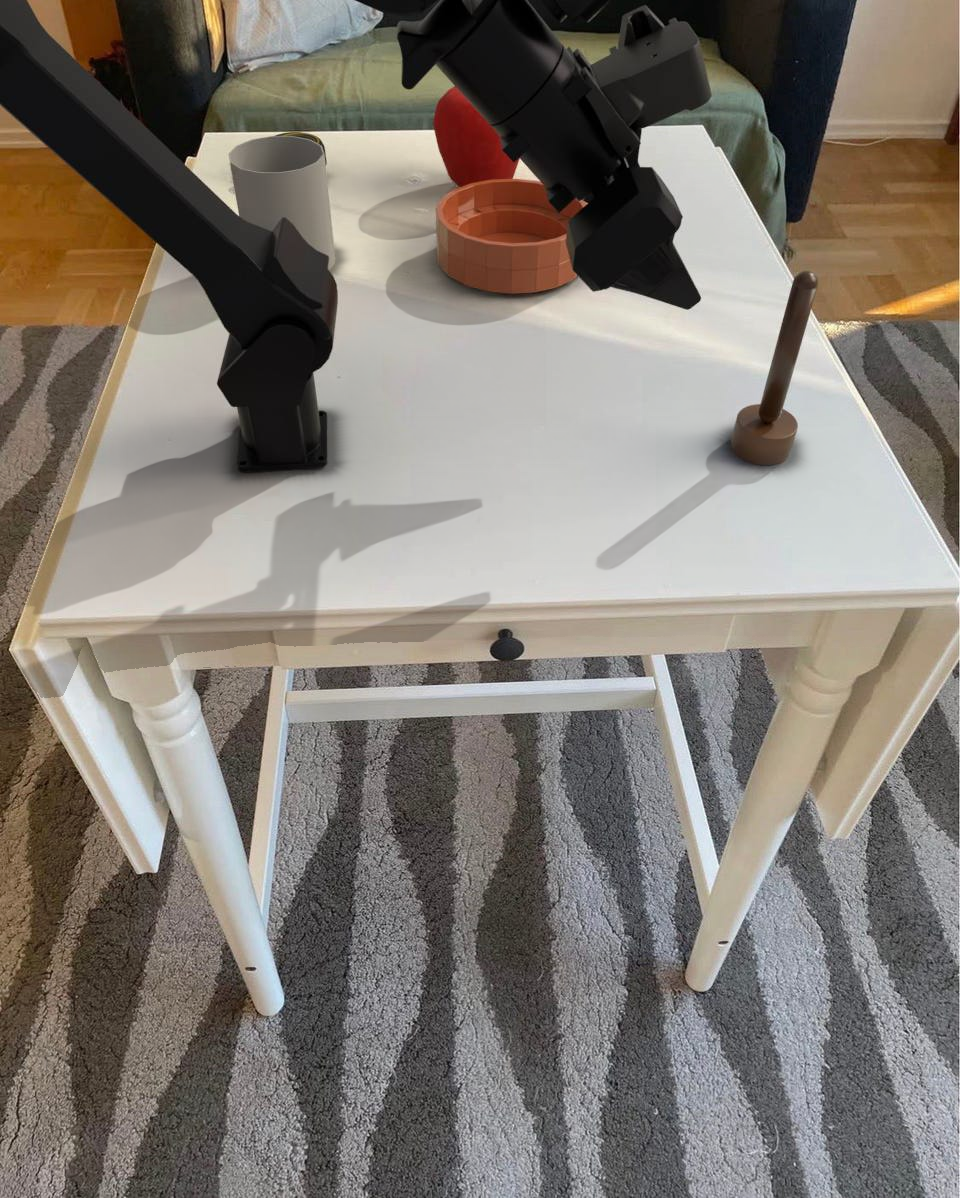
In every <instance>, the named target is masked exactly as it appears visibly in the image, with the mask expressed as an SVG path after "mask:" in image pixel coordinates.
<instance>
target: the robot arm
mask: <svg viewBox="0 0 960 1198" xmlns="http://www.w3.org/2000/svg"><path fill="white" fill-rule="evenodd" d="M354 1H355V2H358V3H360V4H362V5H363V6H364V5H365V7H369V8H371V9H374V10H376V11H379V12H381V13H383V14H385V15H389V16H392V17H411V16H416V15H420V14H422V13H423V12H424V11H425V10H427V9H428V8H429V7H431V6H432V5H433V4H435V3H436V2H437V1H438V0H354ZM540 1H541V2H542V4H543V5H544V6H545V7H546V9H547V10H548V11H549V12H550V13H551V15H552V16H553V17H554V18H555V19H556V20H557V21H558V22H559V23H562V22H563V21H564V20H565V19H566V18H568V19H569V20H570V21H571V23H573V24H575V23H576V22H577V21H578V20H579V19H580V18H581V17H582V19H583V20H584V21H586V22H587V23H590V22H591V21H592V20H593V19H594V18H595V17H596V16H597V15H598V14H599V13H600V12H601V11H602V10H603V9H604V8H605V7H606V6H607V5H608V4H609V3H610V2H611V1H612V0H540ZM653 12H654V11H652V10H651V9H650V8H649V7H648V6H647V5H646V4H645V5H642V6H639V7H637V8H634V9H633V10H631V11H628V12H626V13H625V14H623V15H622V17H621V24H620V30H619V35H618V36H619V37H618V42H617V46H616V45H614V46H612V47H610V48H609V49H608V50H609V53H610V54H608V55H606V56H605V57H603V58H601V59H598V60H597V61H595V62H593V63H590V61H589V60H588V59H587V58H586V56H585V55H584V54H583V52H582V51H581V50H580V49H579V48H576V49H575V50H573V49H572V47H570V46H568V47H565V46H564V44H563V43H562V42H561V41H560V40H559V38H558V37H557V36H556V34H554V32H553V31H552V29H551V28H550V27H549V25H548V24H547V23H546V22H545V21H544V19H543V18H542V17H541V15H540V14H539V13H538V12H537V10H536V9H535V8H534V7H533V5H532V4H531V3H530V2H529V0H439V1H438V2H437V4H436V5H435V6H434V7H433V8H432V9H431V10H430V12H428V13H427V15H425V17H424V18H423V19H421V20H417V21H406V20H400V21H398V23H397V26H396V40H397V43H398V46H399V49H400V55H401V86H402V87H403V88H404V89H405V90H408V91H410V90H413V89H414V88H415V87H416V86H417V85H418V84H419V83H420V82H421V81H422V80H423V78H424V77H425V76H426V75H427V74H428V73H429V72H430V71H431V70H432V69H433V68H434V67H435V66H436V67H437V69H439V70H440V71H441V72H442V73H443V75H444V76H445V77H446V78H447V79H448V80H449V81H450V83H452V84H453V87H454V86H455V87H456V88H457V89H458V90H459V91H460V92H461V93H462V94H463V96H464V97H465V98H466V99H467V100H468V101H469V102H470V103H471V105H472V106H473V107H474V108H475V109H476V110H477V111H478V112H479V113H480V115H481V116H482V117H483V118H484V119H485V120H486V121H487V122H488V123H489V125H490V126H491V127H492V128H493V129H494V130H495V131H496V132H497V134H498V135H499V136H500V141H501V146H502V150H503V152H504V153H505V154H506V155H507V156H508V157H509V158H510V159H511V160H512V161H513V163H514V162H515V161H516V160H517V159H519V158H520V159H519V160H520V161H522V163H523V164H524V165H525V166H526V167H527V168H528V169H529V171H530V172H531V173H532V174H533V175H534V176H535V178H536V179H537V180H538V181H540V182H541V183H542V184H543V185H544V186H545V187H546V188H547V189H546V188H545V190H546V194H547V198H548V201H549V202H550V204H551V205H552V206H553V207H554V208H555V209H556V210H557V211H558V212H559V213H560V212H561V211H562V210H563V209H564V208H565V207H566V206H567V205H569V204H570V203H571V202H572V201H573V200H574V199H575V198H576V199H577V200H578V201H582V200H583V201H585V202H586V203H587V205H585V206H584V207H583V208H582V209H581V210H580V211H579V212H578V213H576V214H575V215H574V216H573V217H572V218H571V219H570V220H569V221H568V225H567V234H566V246H567V250H568V254H569V258H570V261H571V265H572V269H573V271H574V272H575V273H576V274H577V275H578V276H577V277H578V278H579V279H580V280H581V281H582V282H583V283H584V284H585V286H587V287H588V288H589V289H590V290H591V291H592V293H594V292H600V291H601V292H602V291H603V290H608V289H610V288H613V289H617V290H620V291H625V292H629V293H633V294H637V295H640V296H643V297H646V298H649V299H653V300H655V301H658V302H662V303H665V304H666V305H667V304H668V305H670V306H674V307H677V308H680V309H682V310H687V311H689V310H690V309H692V308H693V307H695V306H696V305H697V304H699V303H700V302H701V301H702V297H701V294H700V292H699V289H698V288H697V286H696V284H695V282H694V280H693V278H692V277H691V274H690V272H689V270H688V269H687V266H686V265H685V263H684V261H683V259H682V257H681V255H680V253H679V252H678V249H677V248H676V245H675V244H674V240H675V235H676V233H677V232H678V231H679V229H680V228H681V225H682V220H683V217H684V216H683V214H682V211H681V209H680V207H679V205H678V203H677V201H676V199H675V197H674V195H673V194H672V192H671V190H670V189H669V188H668V186H667V184H666V183H665V181H663V179H662V178H661V176H660V175H659V174H658V173H657V171H656V170H655V169H654V168H653V167H652V166H641V165H640V163H639V156H640V148H641V144H642V142H641V140H642V132H643V129H646V128H648V127H650V126H653V125H655V124H657V123H659V122H661V121H664V120H665V119H669V118H671V117H673V116H675V115H677V114H679V113H682V112H684V111H690V112H692V111H695V110H697V109H699V108H701V107H703V106H704V105H706V104H707V103H708V102H709V101H710V100H711V98H712V95H713V94H712V89H711V85H710V81H709V78H708V77H709V76H708V73H707V68H706V63H705V58H704V55H703V51H702V47H701V43H700V42H701V41H700V39H699V37H698V35H697V34H696V33H695V31H694V29H693V28H692V27H691V26H690V23H688V22H687V21H683V20H682V21H678V20H677V18H676V17H673V18H671V19H669V20H668V25H664V23H663V22H662V21H661V20H660V19H659V17H658V16H657V15H656V14H655V13H653ZM0 107H1V108H3V109H4V110H5V111H6V112H7V113H8V114H9V115H11V116H12V117H13V118H14V119H15V120H16V121H17V122H19V123H20V124H21V125H22V126H23V127H24V128H25V129H26V130H28V132H30V133H31V134H32V135H33V136H34V137H35V138H37V140H39V141H40V142H41V143H42V144H43V145H44V146H46V147H47V148H48V149H49V150H50V151H51V152H53V153H54V155H56V156H57V157H58V158H59V159H61V160H62V162H64V163H65V164H66V165H67V166H69V168H71V169H72V170H73V171H74V173H77V174H78V175H79V176H80V177H81V178H82V179H83V180H84V181H85V182H87V184H89V185H90V186H91V187H92V188H93V189H94V190H96V191H97V192H98V193H99V194H100V195H101V196H102V197H104V198H105V199H106V200H107V201H108V202H109V203H110V204H111V205H113V206H114V207H115V208H116V209H117V210H119V212H121V213H122V214H123V215H124V216H125V217H126V218H127V219H128V220H130V221H131V222H132V223H133V224H134V225H136V227H137V228H139V229H140V230H141V231H142V232H143V233H144V234H146V235H147V236H148V237H149V238H150V239H151V240H152V241H153V242H155V243H156V244H157V245H158V246H159V247H161V249H163V250H164V251H165V252H166V253H167V254H168V255H169V256H170V257H171V258H173V259H174V260H175V261H177V263H178V264H179V265H181V266H182V267H183V268H184V269H185V270H186V271H187V272H189V273H190V274H191V275H192V276H193V277H194V278H195V279H196V281H198V283H199V284H200V287H201V288H202V289H203V292H204V293H205V295H206V297H207V298H208V301H209V302H210V304H211V306H212V308H213V309H214V311H215V313H216V315H217V318H218V319H219V321H220V323H221V325H222V327H223V328H224V329H225V331H226V332H227V333H228V338H227V341H226V346H225V349H224V354H223V357H222V361H221V365H220V369H219V373H218V377H217V380H216V386H217V387H218V389H219V390H220V392H221V393H222V396H224V398H225V400H226V401H227V403H228V404H229V406H231V407H232V408H236V410H237V415H238V422H239V433H238V444H237V453H236V454H237V455H236V463H235V464H236V467H237V470H238V471H239V472H241V473H248V472H263V471H265V472H266V471H279V470H294V469H295V470H296V469H309V468H311V469H312V468H324V467H325V466H327V465H328V464H329V441H328V438H329V437H328V434H329V433H328V431H329V430H328V429H329V428H328V427H329V425H328V413H327V411H325V410H320V409H319V404H318V398H317V390H316V381H315V375H314V374H315V372H316V371H318V370H320V369H321V368H322V367H324V365H325V364H326V363H327V362H328V360H329V359H330V357H331V354H332V351H333V348H334V340H335V332H336V322H337V312H338V303H339V300H338V299H339V295H338V294H339V293H338V291H339V290H338V284H337V281H336V279H335V276H333V274H332V272H331V270H330V271H329V270H328V263H329V256H328V255H326V254H323V253H321V252H319V251H317V250H316V249H314V248H313V247H312V246H311V245H309V244H308V243H307V242H306V241H305V239H304V238H303V237H302V236H301V234H300V233H299V232H298V230H297V229H296V228H295V226H294V225H293V224H292V223H291V222H290V221H289V220H288V219H287V218H285V217H283V218H281V220H280V221H279V222H278V224H277V225H276V227H275V228H274V229H273V231H270V230H267V229H265V228H262V227H260V226H257V225H254V224H252V223H249V222H247V221H245V220H244V219H242V218H241V217H239V214H237V213H236V212H235V211H234V210H233V209H232V208H231V207H230V206H229V205H227V203H225V201H223V199H221V198H220V197H219V195H217V193H215V191H213V190H212V189H211V188H210V187H209V186H208V185H207V184H206V183H205V182H204V181H203V180H202V179H201V178H200V177H198V176H197V175H196V173H194V172H193V171H192V170H191V169H190V168H189V167H188V166H187V165H186V163H184V162H183V161H182V160H181V159H180V158H179V157H178V156H176V155H175V153H173V151H172V150H170V148H168V147H167V146H166V145H165V144H164V143H163V142H162V141H161V140H160V139H159V138H158V137H157V136H156V135H155V134H154V133H153V132H151V131H150V129H148V128H147V127H146V126H145V125H144V124H143V123H142V122H141V121H140V120H139V119H138V118H137V117H136V116H135V115H134V114H133V113H132V112H131V111H130V110H128V109H127V108H126V106H124V105H123V104H122V103H121V101H119V100H118V99H117V98H116V97H115V96H114V95H113V94H112V93H111V91H109V90H108V89H107V88H106V87H105V86H103V84H102V83H100V82H99V81H98V79H96V78H95V77H94V76H93V75H92V74H91V73H90V72H89V71H88V70H87V69H86V68H85V67H84V66H83V65H81V63H80V62H79V61H77V59H76V58H74V57H73V56H72V55H71V54H70V53H69V52H68V51H67V50H66V49H65V48H64V47H62V45H61V44H60V43H59V42H57V40H56V39H55V38H53V37H52V36H51V35H50V34H49V33H48V31H47V30H46V29H45V28H44V26H43V25H42V24H41V22H40V21H39V19H38V18H37V16H36V14H35V12H34V10H33V8H32V6H31V5H30V3H29V1H28V0H0Z"/></svg>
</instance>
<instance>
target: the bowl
mask: <svg viewBox="0 0 960 1198" xmlns="http://www.w3.org/2000/svg"><path fill="white" fill-rule="evenodd" d="M545 188H546V187H545V186H544V185H543V184H542V183H541V182H540V180H532V179H522V178H513V179H495V180H487V181H481V182H475V183H470V184H468V185H465V186H462V187H457V188H454V189H452V190H450V191H449V192H448V193H446V195H443V196H442V197H441V199H440V200H439V202H438V204H437V206H436V207H435V225H436V226H435V228H436V256H437V257H436V258H437V263H438V266H439V267H440V269H442V270H443V271H444V273H445V274H446V275H447V276H449V277H450V278H451V279H453V280H455V281H457V282H459V283H461V284H462V285H464V286H468V287H470V288H475V289H479V290H480V291H481V290H482V291H485V292H492V293H501V294H531V293H538V292H543V291H548V290H552V289H555V288H559V287H561V286H563V285H565V284H567V283H569V282H572V281H574V280H575V279H576V278H577V277H579V276H578V275H577V274H576V273H575V272H574V271H573V269H572V265H571V261H570V258H569V254H568V250H567V246H566V234H567V225H568V221H569V220H570V219H571V218H572V217H573V216H574V215H575V214H576V213H578V212H579V211H580V210H581V209H582V208H583V207H584V206H585V205H587V204H588V203H586V202H585V201H583V200H582V201H578V200H577V199H576V198H575V199H574V200H573V201H572V202H571V203H570V204H569V205H567V206H566V207H565V208H564V209H563V210H562V211H561V212H560V213H559V212H558V211H557V210H556V209H555V208H554V207H553V206H552V205H551V204H550V202H549V201H548V198H547V194H546V190H545ZM546 189H547V188H546Z"/></svg>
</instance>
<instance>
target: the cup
mask: <svg viewBox="0 0 960 1198" xmlns="http://www.w3.org/2000/svg"><path fill="white" fill-rule="evenodd" d="M227 155H228V160H229V165H230V171H231V177H232V183H233V189H234V194H235V200H236V207H237V212H238V216H239V217H241V218H242V219H244V220H245V221H247V222H249V223H252V224H254V225H257V226H260V227H262V228H265V229H267V230H270V231H273V229H274V228H275V227H276V225H277V224H278V222H279V221H280V220H281V218H283V217H285V218H287V219H288V220H289V221H290V222H291V223H292V224H293V225H294V226H295V228H296V229H297V230H298V232H299V233H300V234H301V236H302V237H303V238H304V239H305V241H306V242H307V243H308V244H309V245H311V246H312V247H313V248H314V249H316V250H317V251H319V252H321V253H323V254H326V255H328V256H329V263H328V270H329V271H330V272H331V270H332V268H333V266H334V265H335V263H336V251H335V250H336V249H335V242H334V233H333V223H332V221H333V220H332V213H331V212H332V211H331V204H330V202H331V201H330V194H329V185H328V184H329V183H328V175H327V174H328V173H327V165H326V163H325V154H324V151H323V148H322V146H321V145H319V144H317V143H316V142H314V141H312V140H310V139H305V138H300V137H294V136H275V135H270V136H264V137H259V138H252V139H250V140H246V141H244V142H242V143H239V144H237V145H235V146H234V147H233V149H231V150H230V151H229V152H228V154H227Z"/></svg>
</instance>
